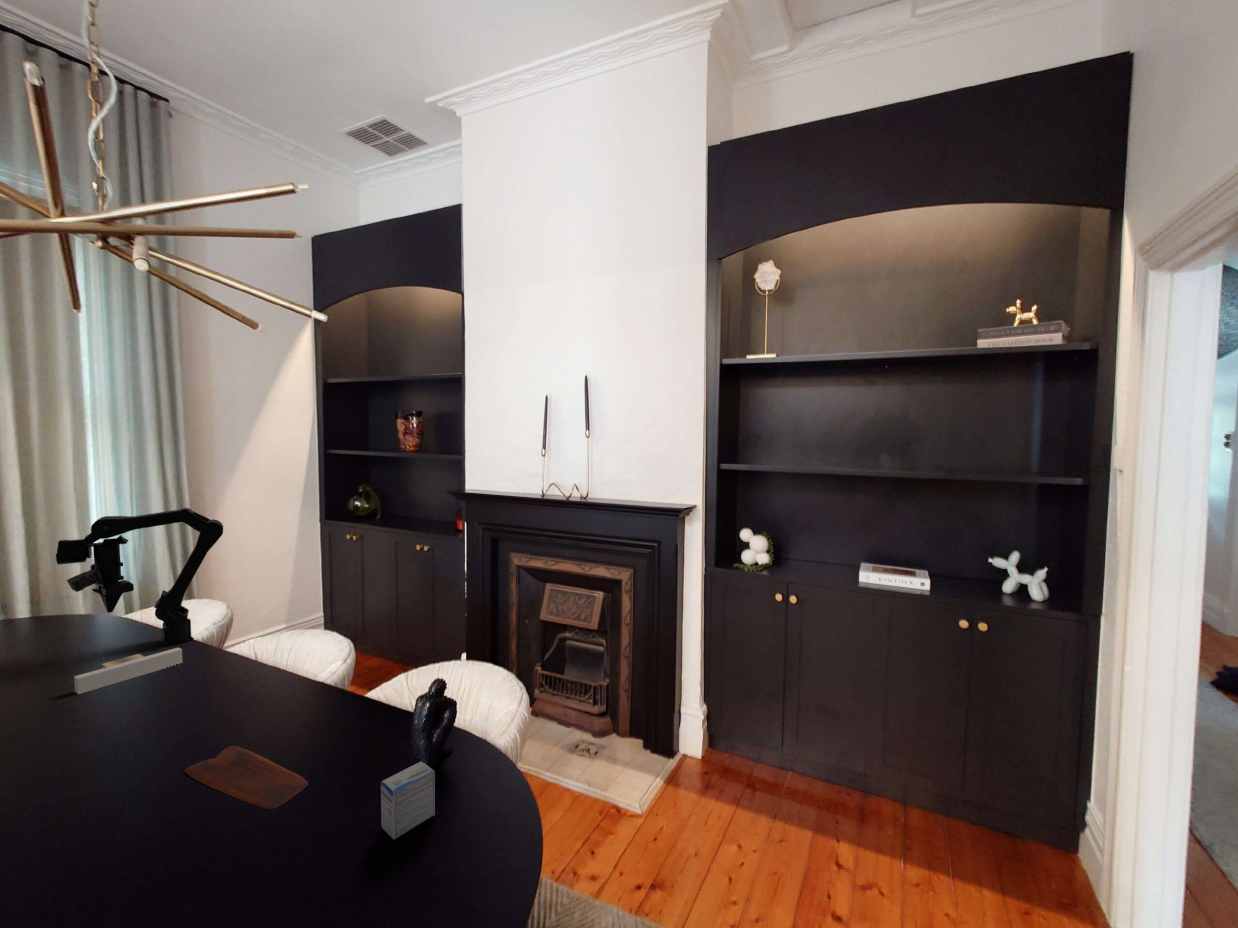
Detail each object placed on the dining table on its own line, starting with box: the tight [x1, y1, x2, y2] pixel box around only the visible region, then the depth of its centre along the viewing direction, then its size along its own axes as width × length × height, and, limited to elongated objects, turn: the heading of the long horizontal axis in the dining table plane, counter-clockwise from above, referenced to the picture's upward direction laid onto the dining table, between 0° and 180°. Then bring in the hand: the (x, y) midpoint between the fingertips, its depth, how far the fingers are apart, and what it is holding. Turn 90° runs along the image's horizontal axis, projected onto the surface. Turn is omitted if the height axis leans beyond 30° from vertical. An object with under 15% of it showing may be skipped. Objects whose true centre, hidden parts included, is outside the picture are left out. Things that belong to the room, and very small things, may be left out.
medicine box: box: [380, 761, 436, 840], centre depth 98 cm, size 8×4×9 cm, turn 141°
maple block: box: [101, 653, 145, 669], centre depth 152 cm, size 8×6×4 cm
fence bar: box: [73, 647, 183, 695], centre depth 150 cm, size 22×2×4 cm, turn 148°
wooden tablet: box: [184, 745, 309, 810], centre depth 109 cm, size 27×10×2 cm, turn 65°
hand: (109, 612), depth 165 cm, fingers closed
